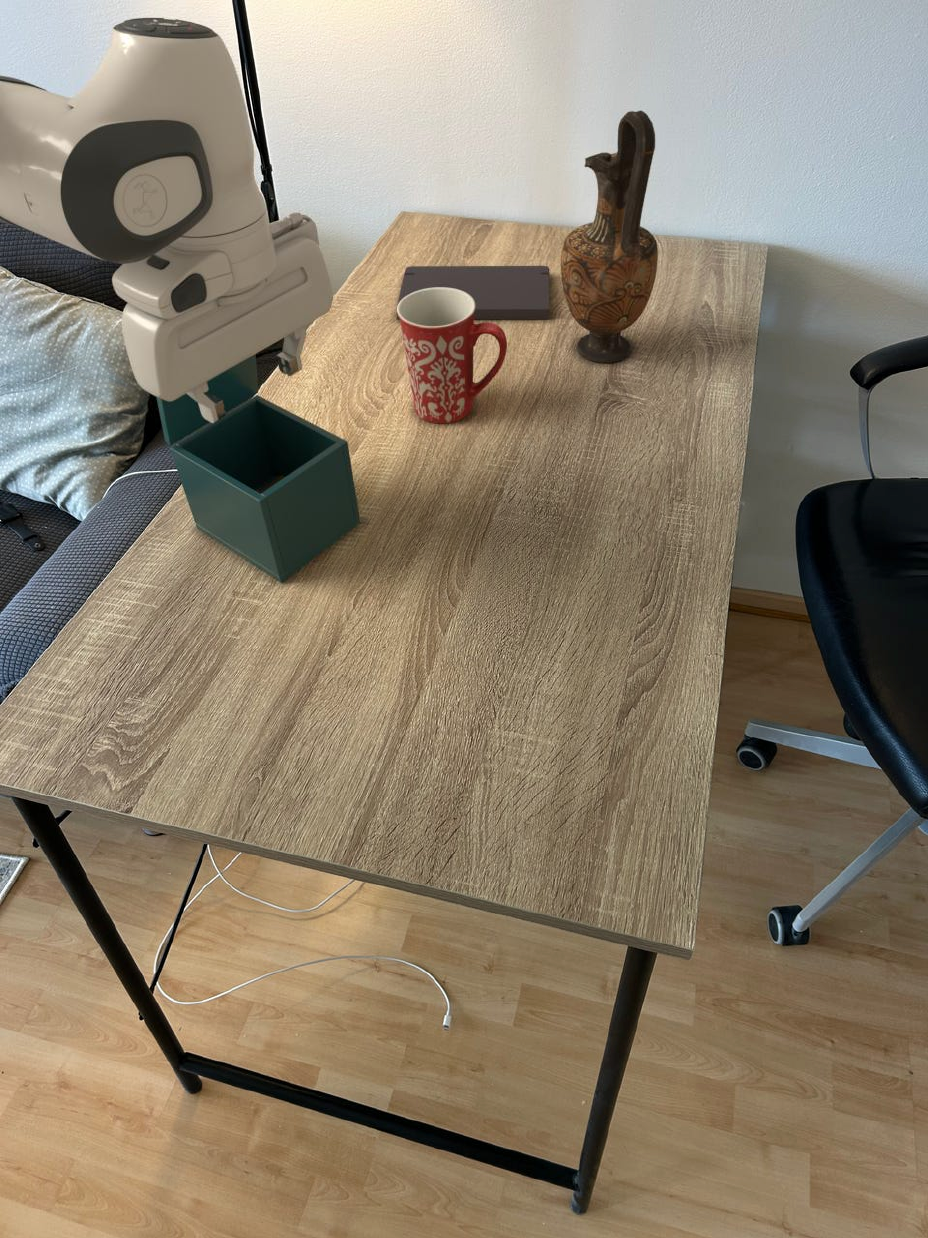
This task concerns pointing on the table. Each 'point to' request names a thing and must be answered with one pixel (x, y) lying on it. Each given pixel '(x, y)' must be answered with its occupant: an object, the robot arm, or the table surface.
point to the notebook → (488, 288)
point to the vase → (613, 246)
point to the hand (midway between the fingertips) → (254, 393)
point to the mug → (444, 351)
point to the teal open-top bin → (251, 459)
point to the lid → (226, 386)
